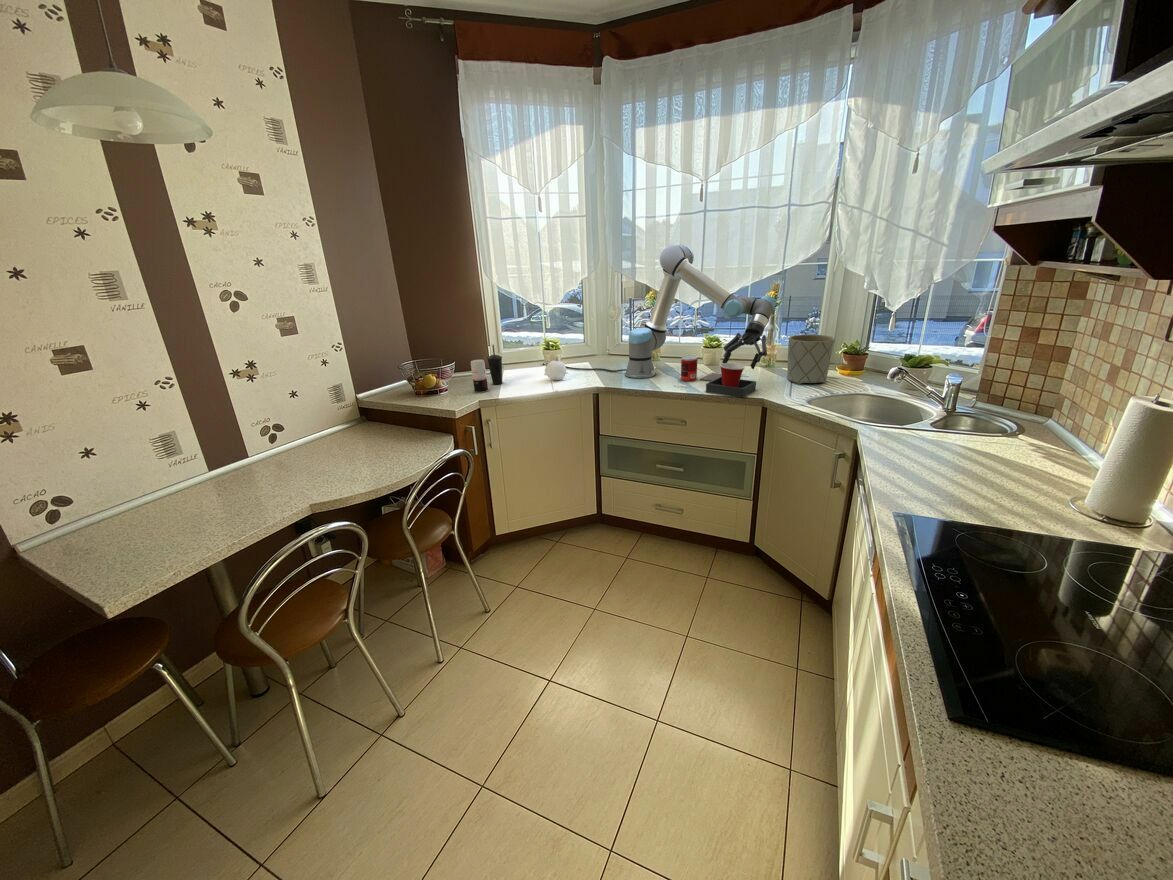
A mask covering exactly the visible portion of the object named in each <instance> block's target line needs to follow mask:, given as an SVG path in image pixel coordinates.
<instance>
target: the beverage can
mask: <svg viewBox="0 0 1173 880" xmlns="http://www.w3.org/2000/svg"><path fill="white" fill-rule="evenodd" d="M470 369H471V375H472V382H473V390H474V392H475V393H478V394H480V393H486V392H488V391H489V387H488V386H489V385H488V379H487V377H488V376H487V371H486V364H485V360H484V359H473V360H471V361H470Z"/></svg>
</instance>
